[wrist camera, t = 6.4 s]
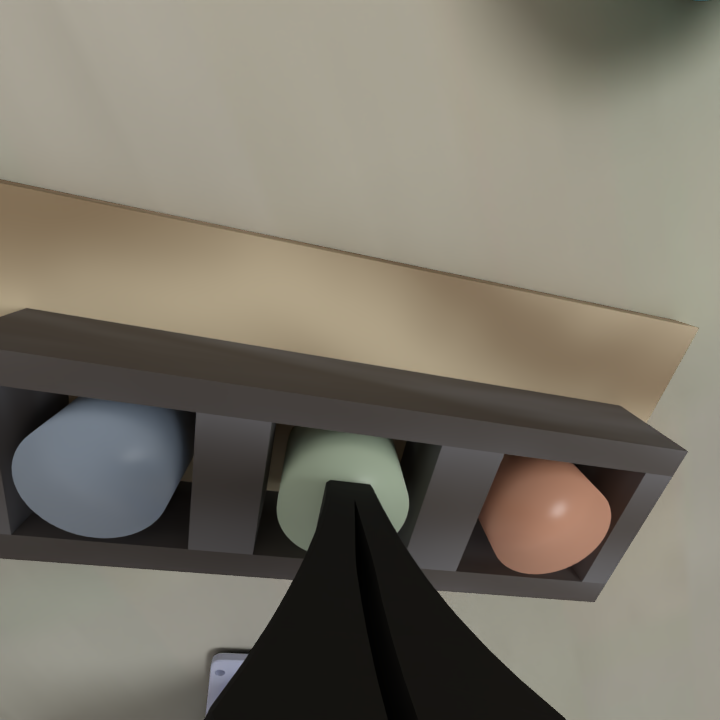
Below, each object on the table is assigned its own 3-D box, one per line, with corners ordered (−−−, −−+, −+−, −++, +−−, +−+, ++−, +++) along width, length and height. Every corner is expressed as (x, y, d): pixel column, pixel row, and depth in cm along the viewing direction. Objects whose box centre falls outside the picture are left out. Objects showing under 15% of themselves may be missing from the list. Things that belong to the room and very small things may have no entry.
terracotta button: (537, 515, 16) (580, 578, 13) (449, 505, 16) (476, 569, 13) (575, 436, 15) (632, 489, 12) (480, 422, 14) (518, 475, 11)
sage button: (379, 497, 15) (391, 562, 12) (280, 486, 15) (268, 552, 12) (404, 411, 14) (424, 463, 11) (294, 395, 13) (286, 446, 10)
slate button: (199, 477, 14) (168, 543, 11) (83, 464, 14) (20, 531, 11) (205, 382, 13) (172, 431, 10) (76, 363, 12) (2, 410, 9)
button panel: (541, 575, 20) (590, 661, 16) (31, 532, 16) (-58, 630, 12) (675, 320, 15) (793, 358, 11) (-18, 175, 11) (-191, 160, 7)
